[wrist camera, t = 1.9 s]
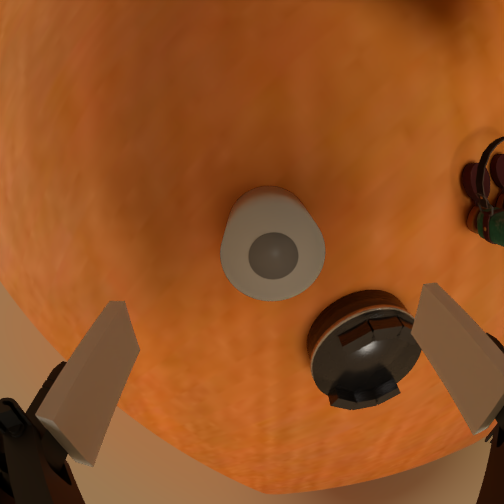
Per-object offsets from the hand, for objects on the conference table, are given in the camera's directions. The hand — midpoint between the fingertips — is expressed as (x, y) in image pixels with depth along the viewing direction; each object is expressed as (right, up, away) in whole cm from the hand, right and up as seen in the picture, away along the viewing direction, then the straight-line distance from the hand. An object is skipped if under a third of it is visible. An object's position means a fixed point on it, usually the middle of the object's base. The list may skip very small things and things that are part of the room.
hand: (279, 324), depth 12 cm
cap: (0, +5, +11) cm, 13 cm away
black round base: (+10, -6, +16) cm, 19 cm away
